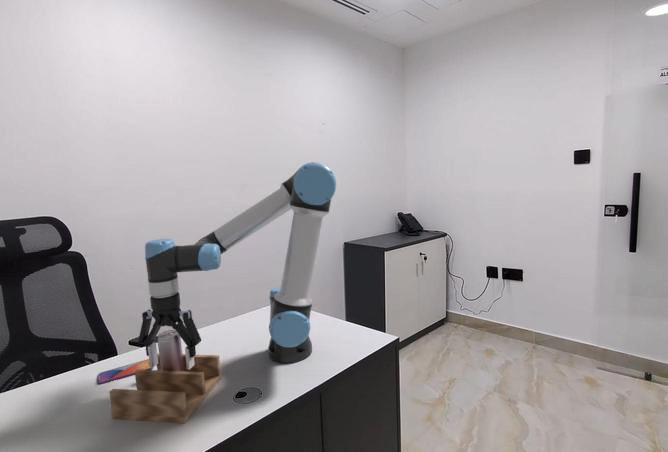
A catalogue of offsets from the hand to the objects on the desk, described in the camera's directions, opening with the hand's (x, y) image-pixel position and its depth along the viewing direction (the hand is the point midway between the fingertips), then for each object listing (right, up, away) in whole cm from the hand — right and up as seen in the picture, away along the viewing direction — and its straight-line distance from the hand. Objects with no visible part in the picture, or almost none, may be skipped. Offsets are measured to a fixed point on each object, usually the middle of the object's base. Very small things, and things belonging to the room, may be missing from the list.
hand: (172, 366), depth 101 cm
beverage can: (0, -5, +1) cm, 5 cm away
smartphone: (-20, -7, +10) cm, 23 cm away
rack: (+2, -7, -4) cm, 8 cm away
